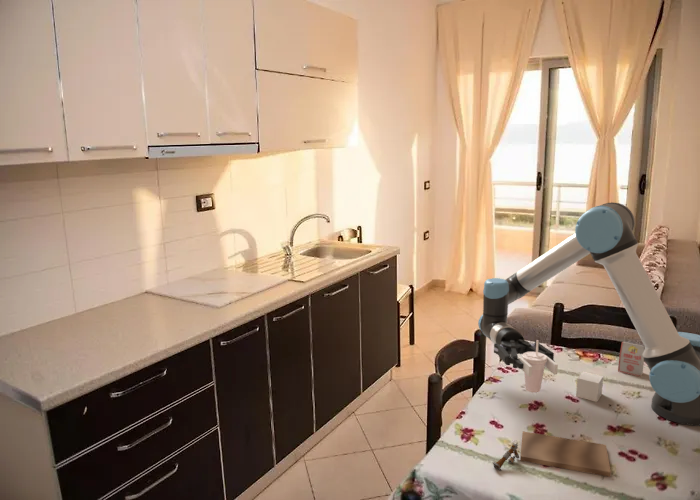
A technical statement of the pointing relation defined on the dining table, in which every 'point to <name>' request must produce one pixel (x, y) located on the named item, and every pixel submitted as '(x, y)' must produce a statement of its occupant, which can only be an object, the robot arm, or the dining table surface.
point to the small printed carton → (631, 359)
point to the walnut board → (565, 453)
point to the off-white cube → (589, 386)
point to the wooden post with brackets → (506, 456)
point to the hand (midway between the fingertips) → (543, 370)
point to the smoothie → (535, 369)
